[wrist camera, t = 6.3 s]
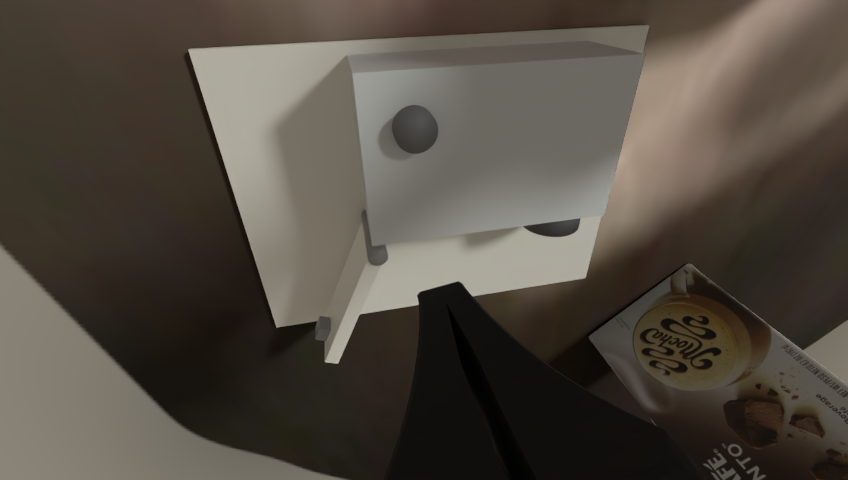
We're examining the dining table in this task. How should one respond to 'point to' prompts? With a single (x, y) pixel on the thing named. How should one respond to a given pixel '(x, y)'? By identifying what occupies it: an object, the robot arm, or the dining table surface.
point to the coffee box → (728, 384)
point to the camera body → (490, 136)
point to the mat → (355, 177)
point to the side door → (350, 293)
